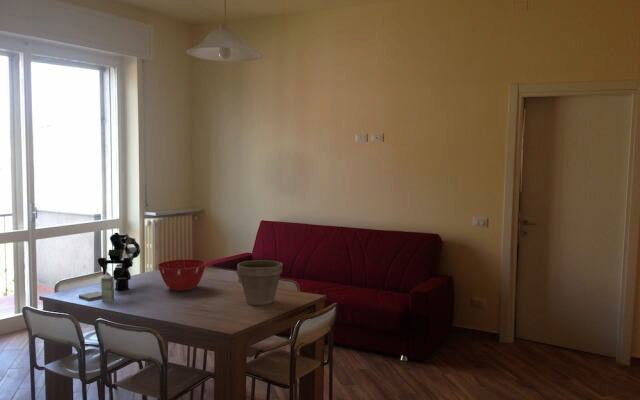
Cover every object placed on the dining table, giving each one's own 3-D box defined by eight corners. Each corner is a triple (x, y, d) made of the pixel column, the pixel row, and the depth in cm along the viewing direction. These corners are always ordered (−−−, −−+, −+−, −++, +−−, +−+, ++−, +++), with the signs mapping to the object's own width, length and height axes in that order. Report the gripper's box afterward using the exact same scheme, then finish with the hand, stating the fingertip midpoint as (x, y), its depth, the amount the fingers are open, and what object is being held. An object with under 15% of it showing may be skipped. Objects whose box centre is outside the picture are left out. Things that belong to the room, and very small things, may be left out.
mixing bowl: (183, 296, 317) (183, 269, 316) (148, 290, 331) (147, 264, 330) (215, 286, 341) (215, 262, 340) (181, 281, 355) (181, 257, 354)
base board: (97, 294, 321) (96, 291, 320) (107, 297, 314) (107, 294, 314) (78, 297, 312) (78, 295, 312) (89, 301, 305) (89, 298, 305)
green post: (105, 299, 310) (104, 276, 309) (114, 299, 310) (113, 276, 309) (101, 301, 305) (101, 278, 304) (110, 301, 305) (110, 278, 304)
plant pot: (254, 294, 322) (254, 257, 320) (290, 299, 310) (290, 261, 309) (228, 304, 300) (228, 265, 298) (266, 310, 288) (266, 269, 287)
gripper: (98, 243, 317) (91, 266, 307) (130, 243, 318) (125, 266, 308) (103, 255, 326) (96, 277, 315) (135, 255, 326) (129, 277, 316)
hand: (112, 274), depth 313 cm, fingers open, 9 cm apart
